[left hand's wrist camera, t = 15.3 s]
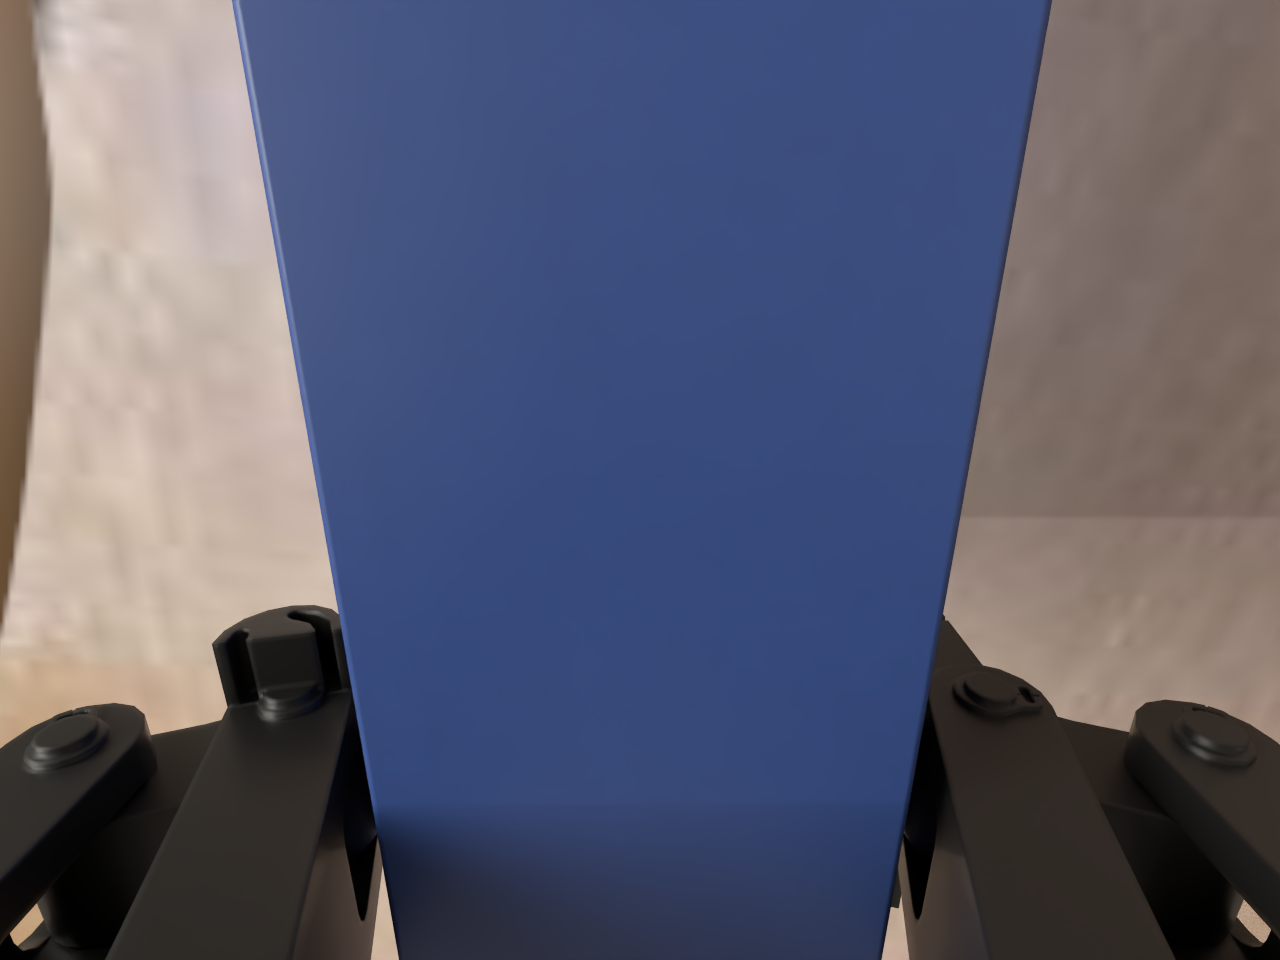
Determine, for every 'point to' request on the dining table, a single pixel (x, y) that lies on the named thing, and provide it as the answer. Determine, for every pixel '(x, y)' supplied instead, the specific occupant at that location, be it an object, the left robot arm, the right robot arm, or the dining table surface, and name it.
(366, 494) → the bar
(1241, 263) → the dining table surface
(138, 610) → the dining table surface
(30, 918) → the dining table surface
